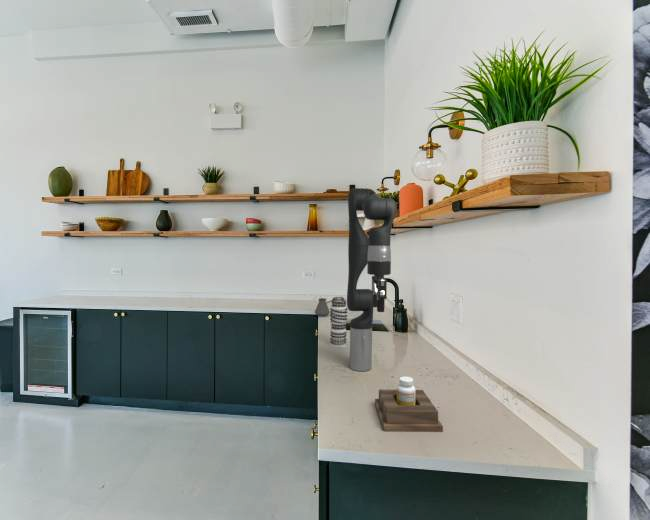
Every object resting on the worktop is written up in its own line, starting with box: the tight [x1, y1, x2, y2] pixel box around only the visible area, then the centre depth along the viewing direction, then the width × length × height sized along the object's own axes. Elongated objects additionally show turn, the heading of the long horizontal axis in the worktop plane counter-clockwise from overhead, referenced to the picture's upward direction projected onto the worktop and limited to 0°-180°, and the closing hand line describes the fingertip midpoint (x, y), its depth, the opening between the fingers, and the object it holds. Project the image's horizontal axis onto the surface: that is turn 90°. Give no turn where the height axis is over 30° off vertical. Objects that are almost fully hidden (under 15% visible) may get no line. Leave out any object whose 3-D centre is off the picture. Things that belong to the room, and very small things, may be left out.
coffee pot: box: [314, 297, 332, 317], centre depth 245 cm, size 21×12×15 cm, turn 84°
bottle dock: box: [374, 388, 444, 433], centre depth 95 cm, size 16×16×5 cm
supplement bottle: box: [396, 376, 417, 405], centre depth 95 cm, size 5×5×10 cm
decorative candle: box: [329, 296, 349, 348], centre depth 168 cm, size 9×9×25 cm
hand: (378, 309), depth 104 cm, fingers open, 8 cm apart
